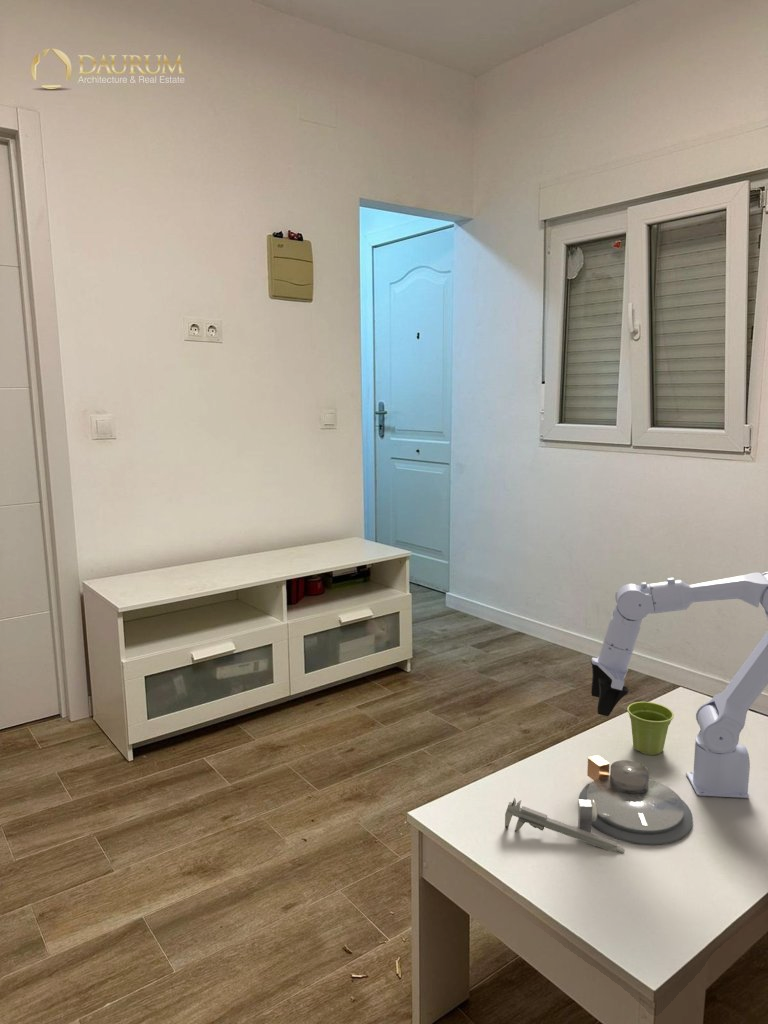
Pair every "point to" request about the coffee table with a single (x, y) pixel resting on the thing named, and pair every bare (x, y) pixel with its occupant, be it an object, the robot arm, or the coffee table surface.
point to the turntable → (633, 803)
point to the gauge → (587, 814)
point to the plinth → (644, 838)
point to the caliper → (555, 826)
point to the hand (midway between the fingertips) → (599, 705)
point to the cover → (629, 777)
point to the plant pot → (649, 726)
